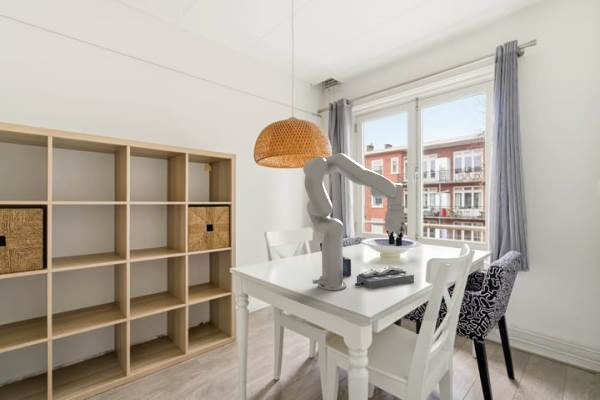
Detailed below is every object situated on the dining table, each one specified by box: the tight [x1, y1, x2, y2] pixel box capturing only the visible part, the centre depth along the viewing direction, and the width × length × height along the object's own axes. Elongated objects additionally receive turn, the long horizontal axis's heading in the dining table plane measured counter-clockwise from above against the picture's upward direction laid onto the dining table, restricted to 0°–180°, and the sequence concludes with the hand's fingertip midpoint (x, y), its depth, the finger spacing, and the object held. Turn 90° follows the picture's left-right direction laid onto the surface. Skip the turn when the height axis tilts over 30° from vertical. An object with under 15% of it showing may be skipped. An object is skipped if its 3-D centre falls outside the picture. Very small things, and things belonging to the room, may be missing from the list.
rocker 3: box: [388, 265, 404, 271], centre depth 137 cm, size 6×4×1 cm, turn 113°
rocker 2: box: [375, 266, 391, 275], centre depth 134 cm, size 6×4×1 cm, turn 113°
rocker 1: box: [361, 268, 377, 276], centre depth 131 cm, size 6×4×1 cm, turn 113°
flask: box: [343, 256, 352, 277], centre depth 146 cm, size 9×3×11 cm, turn 72°
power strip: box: [354, 269, 415, 290], centre depth 131 cm, size 30×10×4 cm, turn 113°
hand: (395, 244), depth 137 cm, fingers open, 4 cm apart
